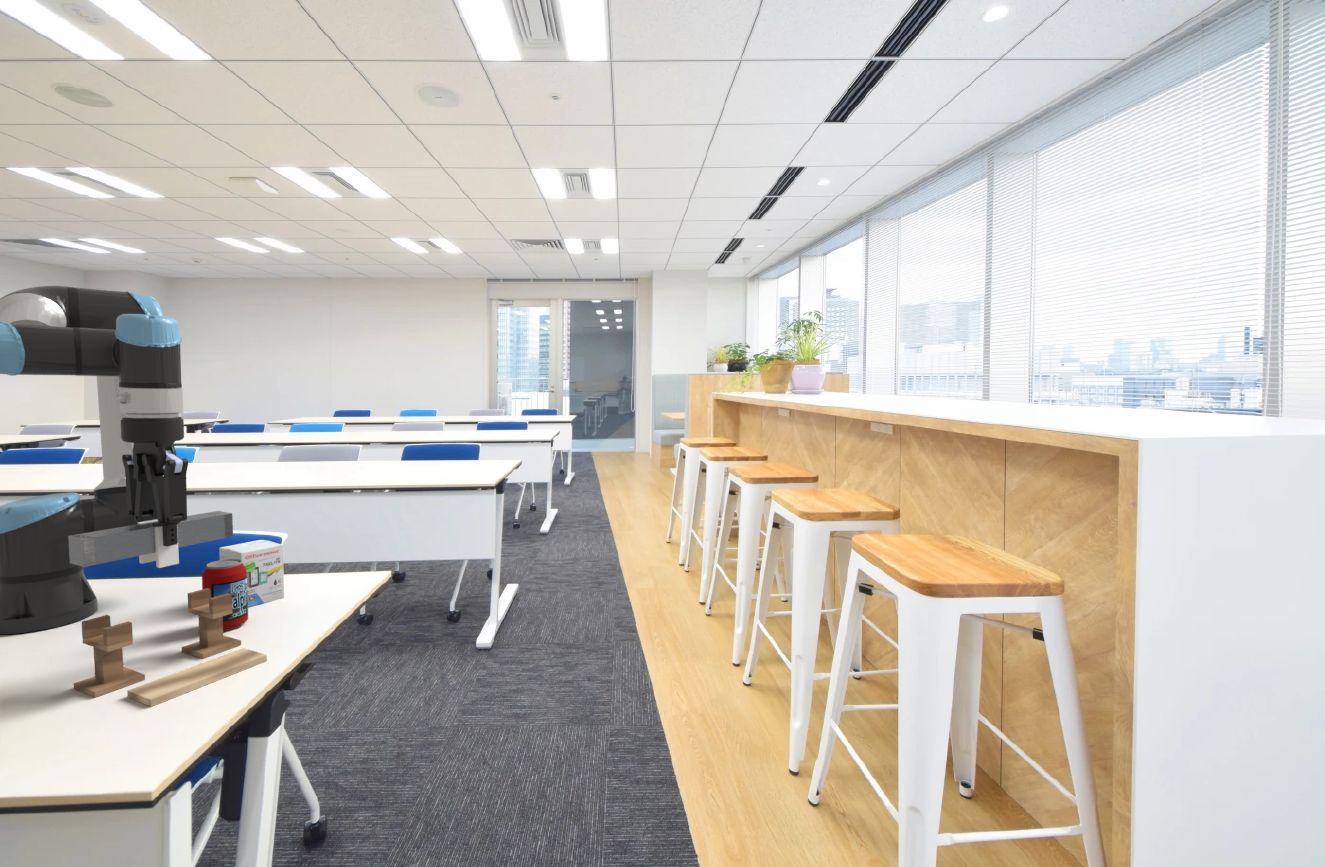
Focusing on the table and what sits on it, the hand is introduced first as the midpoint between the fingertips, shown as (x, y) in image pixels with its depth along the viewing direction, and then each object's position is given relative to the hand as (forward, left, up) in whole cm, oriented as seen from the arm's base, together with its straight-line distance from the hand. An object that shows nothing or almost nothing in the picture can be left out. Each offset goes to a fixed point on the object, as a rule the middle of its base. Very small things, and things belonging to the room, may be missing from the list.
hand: (159, 562), depth 96 cm
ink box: (-18, +25, -17) cm, 35 cm away
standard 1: (0, -7, -17) cm, 18 cm away
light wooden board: (+10, 0, -17) cm, 20 cm away
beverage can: (-8, +14, -17) cm, 23 cm away
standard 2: (0, +7, -17) cm, 18 cm away
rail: (0, 0, +2) cm, 2 cm away
